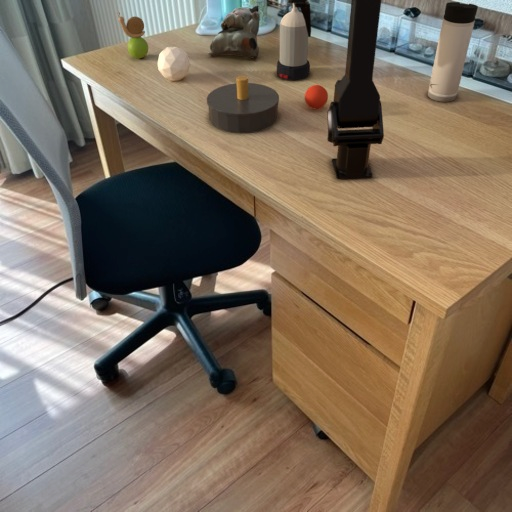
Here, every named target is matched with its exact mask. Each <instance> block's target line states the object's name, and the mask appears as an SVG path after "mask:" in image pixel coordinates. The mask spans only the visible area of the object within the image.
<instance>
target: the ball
mask: <svg viewBox="0 0 512 512" xmlns="http://www.w3.org/2000/svg"><path fill="white" fill-rule="evenodd" d="M328 99H329V93H328V91H327V89H326V88H325V87H324V86H322V85H319V84H313V85H311V86H309V87H308V89H307V90H306V91H305V93H304V101H305V103H306V105H307V106H308V107H309V108H310V109H314V110H319V109H322V108H324V106H325V105H326V104H327V102H328Z"/></svg>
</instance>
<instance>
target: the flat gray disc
mask: <svg viewBox="0 0 512 512" xmlns="http://www.w3.org/2000/svg"><path fill="white" fill-rule="evenodd" d="M235 79H236V80H235V81H236V83H235V82H234V83H229V84H226V85H225V84H224V85H222V86H219V87H217V88H215V89H213V90H211V92H209V93H208V95H207V96H206V104H207V107H208V106H209V107H210V108H211V109H212V110H214V111H216V112H218V113H221V114H225V115H231V116H251V115H257V114H261V113H264V112H267V111H269V110H271V109H273V108H274V107H275V106H276V105H277V104H278V105H279V102H280V95H279V92H277V90H275V89H274V88H272V87H270V86H267V85H264V84H261V83H254V82H249V77H248V76H247V75H239V76H236V78H235ZM209 107H208V108H209Z"/></svg>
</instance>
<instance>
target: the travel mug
mask: <svg viewBox="0 0 512 512" xmlns="http://www.w3.org/2000/svg"><path fill="white" fill-rule="evenodd" d="M478 8H479V6H478V4H473V3H468V4H467V3H461V2H459V1H451V2H446V3H445V8H444V14H443V17H442V21H441V26H440V31H439V36H438V40H437V47H436V52H435V55H434V56H435V57H434V62H433V66H432V71H431V76H430V80H429V86H428V90H427V96H428V98H430V99H431V100H432V101H435V102H439V103H440V102H441V103H448V102H449V103H450V102H453V101H454V100H456V99H457V97H458V93H459V88H460V84H461V80H462V75H463V71H464V68H465V63H466V59H467V55H468V50H469V48H470V47H469V46H470V43H471V39H472V34H473V29H474V25H475V22H476V16H477V12H478Z"/></svg>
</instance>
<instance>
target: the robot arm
mask: <svg viewBox="0 0 512 512" xmlns="http://www.w3.org/2000/svg"><path fill="white" fill-rule="evenodd" d="M287 3H289V4H293V3H294V6H295V7H297V8H299V9H300V12H301V13H302V14H303V17H304V21H305V25H306V29H307V33H308V38H311V37H312V18H311V17H312V14H311V4H310V1H309V0H287ZM381 6H382V0H351V1H350V11H349V23H348V24H349V25H348V35H347V47H346V48H347V49H346V60H345V71H344V72H345V73H344V75H343V76H342V78H341V79H338V80H336V82H335V84H334V91H333V92H334V93H333V100H332V101H330V104H329V107H328V109H327V110H326V114H327V115H326V116H327V117H326V118H327V119H326V120H327V138H326V139H327V142H329V143H331V144H332V146H333V147H337V151H336V157H335V158H331V165H332V168H333V171H334V174H335V175H334V176H335V178H336V179H337V180H348V179H349V180H351V179H372V178H373V176H374V174H373V171H372V169H371V166H370V164H369V161H370V153H371V146H372V145H382V144H383V141H384V137H385V133H384V119H383V108H382V101H381V95H380V93H379V91H378V88H377V87H376V85H375V82H374V80H373V79H374V78H373V77H374V69H375V59H376V51H377V42H378V33H379V25H380V16H381V8H382V7H381Z"/></svg>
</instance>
